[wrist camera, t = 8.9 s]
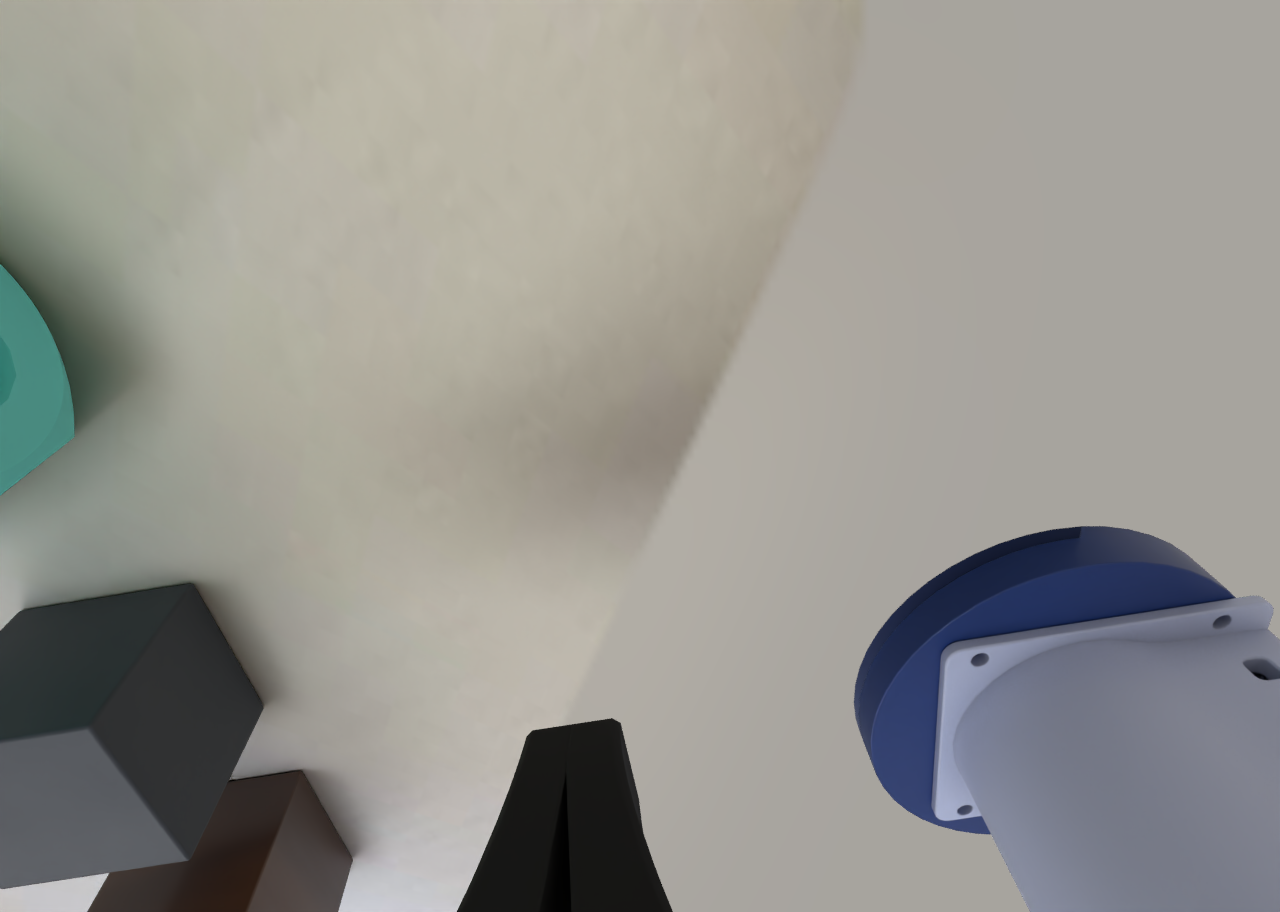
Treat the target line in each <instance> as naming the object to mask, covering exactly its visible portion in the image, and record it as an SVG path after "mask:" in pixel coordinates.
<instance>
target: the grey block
mask: <svg viewBox="0 0 1280 912" xmlns="http://www.w3.org/2000/svg"><path fill="white" fill-rule="evenodd" d="M262 710H263V704H262V702H261V701H260V699H259V697H258V695H257V694H256V692H255V690H254V688H253V687H252V685H251V683H250V682H249V680H248V678H247V676H246V675H245V673H244V671H243V669H242V668H241V666H240V664H239V662H238V661H237V659H236V657H235V656H234V654H233V652H232V650H231V649H230V647H229V645H228V643H227V642H226V640H225V638H224V636H223V635H222V633H221V631H220V630H219V628H218V626H217V624H216V623H215V621H214V619H213V617H212V616H211V614H210V612H209V610H208V609H207V607H206V605H205V603H204V602H203V600H202V598H201V597H200V595H199V593H198V591H197V590H196V588H195V586H194V585H193V584H184V585H178V586H172V587H166V588H160V589H153V590H147V591H141V592H135V593H129V594H123V595H116V596H110V597H104V598H98V599H92V600H85V601H79V602H73V603H67V604H61V605H54V606H48V607H42V608H36V609H30V610H23V611H20V612H19V613H17V614H16V615H15V616H14V617H13V618H12V619H11V621H10V622H9V623H8V624H7V625H6V626H5V627H4V628H3V629H2V630H1V631H0V889H6V888H13V887H19V886H26V885H32V884H39V883H45V882H52V881H59V880H65V879H72V878H78V877H85V876H91V875H98V874H104V873H111V872H118V871H124V870H131V869H137V868H144V867H150V866H157V865H164V864H170V863H177V862H183V861H188V860H190V859H191V857H192V855H193V853H194V851H195V849H196V847H197V845H198V843H199V841H200V839H201V837H202V835H203V832H204V830H205V828H206V826H207V824H208V822H209V820H210V818H211V816H212V814H213V812H214V810H215V808H216V806H217V803H218V801H219V799H220V797H221V795H222V793H223V791H224V789H225V787H226V785H227V783H228V781H229V779H230V777H231V774H232V772H233V770H234V768H235V766H236V764H237V762H238V760H239V758H240V756H241V754H242V752H243V750H244V748H245V746H246V743H247V741H248V739H249V737H250V735H251V733H252V731H253V729H254V727H255V725H256V723H257V721H258V719H259V717H260V714H261V712H262Z"/></svg>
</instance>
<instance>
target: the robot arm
mask: <svg viewBox="0 0 1280 912" xmlns="http://www.w3.org/2000/svg"><path fill="white" fill-rule="evenodd" d="M1273 609H1274V608H1273V607H1272V605H1271V604H1270V603H1269V602H1268V601H1266V600H1265V599H1264V598H1263V597H1260V596H1247V597H1240V598H1234V599H1227V600H1221V601H1215V602H1208V603H1202V604H1195V605H1189V606H1182V607H1176V608H1170V609H1163V610H1157V611H1150V612H1144V613H1137V614H1131V615H1125V616H1118V617H1112V618H1105V619H1099V620H1093V621H1086V622H1080V623H1073V624H1067V625H1060V626H1054V627H1048V628H1041V629H1035V630H1028V631H1022V632H1015V633H1009V634H1003V635H996V636H990V637H983V638H977V639H971V640H964V641H958V642H954V643H952V644H950V645H948V646H947V647H946V648H945V649H944V650H943V652H942V655H941V662H940V678H939V694H938V709H937V725H936V741H935V757H934V772H933V788H932V804H931V806H932V809H933V811H934V814H935V816H936V817H937V818H938V819H940V820H944V821H950V820H957V819H964V818H970V817H977V816H982V817H983V819H984V821H985V823H986V825H987V827H988V829H989V831H990V833H991V835H992V837H993V839H994V841H995V843H996V845H997V847H998V849H999V851H1000V853H1001V855H1002V857H1003V859H1004V861H1005V863H1006V865H1007V867H1008V869H1009V871H1010V873H1011V875H1012V877H1013V879H1014V881H1015V883H1016V885H1017V887H1018V889H1019V891H1020V893H1021V895H1022V897H1023V899H1024V901H1025V903H1026V905H1027V907H1028V909H1029V911H1030V912H1280V640H1279V639H1278V638H1277V637H1276V636H1275V635H1274V634H1273V633H1272V632H1270V631H1269V630H1267V629H1268V626H1269V624H1270V621H1271V618H1272V615H1273ZM977 654H979V655H977ZM975 655H977V656H975ZM457 912H673V911H672V909H671V906H670V904H669V901H668V899H667V896H666V894H665V892H664V889H663V887H662V884H661V882H660V879H659V877H658V874H657V871H656V868H655V866H654V863H653V860H652V857H651V854H650V852H649V849H648V846H647V843H646V840H645V837H644V834H643V828H642V822H641V813H640V806H639V798H638V794H637V790H636V786H635V782H634V778H633V773H632V769H631V765H630V761H629V756H628V752H627V748H626V744H625V740H624V736H623V731H622V727H621V723H620V722H618V721H616V720H614V719H612V718H611V719H605V720H599V721H592V722H585V723H579V724H572V725H566V726H559V727H552V728H546V729H539V730H533V731H532V732H531V733H530V734H529V735H528V736H527V738H526V741H525V744H524V747H523V751H522V754H521V757H520V760H519V763H518V766H517V769H516V772H515V775H514V778H513V780H512V783H511V786H510V789H509V791H508V794H507V797H506V799H505V802H504V804H503V807H502V810H501V812H500V815H499V817H498V820H497V822H496V825H495V827H494V830H493V832H492V834H491V837H490V839H489V841H488V844H487V846H486V848H485V851H484V853H483V856H482V858H481V860H480V863H479V865H478V867H477V870H476V872H475V874H474V876H473V879H472V881H471V883H470V885H469V888H468V890H467V892H466V894H465V896H464V898H463V900H462V902H461V904H460V906H459V908H458V910H457Z"/></svg>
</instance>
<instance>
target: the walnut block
mask: <svg viewBox="0 0 1280 912" xmlns="http://www.w3.org/2000/svg"><path fill="white" fill-rule="evenodd" d="M352 861H353V860H352V858H351V856H350V854H349V852H348V851H347V849H346V847H345V845H344V844H343V842H342V840H341V838H340V837H339V835H338V833H337V832H336V830H335V828H334V826H333V825H332V823H331V821H330V819H329V818H328V816H327V814H326V812H325V811H324V809H323V807H322V805H321V804H320V802H319V800H318V799H317V797H316V795H315V793H314V792H313V790H312V788H311V786H310V785H309V783H308V781H307V779H306V778H305V776H304V774H303V772H302V771H297V772H290V773H284V774H277V775H271V776H264V777H258V778H251V779H245V780H238V781H232V782H228V783H227V785H226V787H225V789H224V791H223V793H222V795H221V797H220V799H219V801H218V803H217V806H216V808H215V810H214V812H213V814H212V816H211V818H210V820H209V822H208V824H207V826H206V828H205V830H204V832H203V835H202V837H201V839H200V841H199V843H198V845H197V847H196V849H195V851H194V853H193V855H192V857H191V859H190V860H188V861H183V862H177V863H170V864H164V865H157V866H150V867H144V868H137V869H131V870H124V871H118V872H111V873H109V875H108V876H107V878H106V880H105V882H104V883H103V885H102V887H101V889H100V890H99V892H98V894H97V896H96V897H95V899H94V901H93V903H92V904H91V906H90V908H89V910H88V911H87V912H338V910H339V907H340V903H341V900H342V896H343V893H344V889H345V886H346V882H347V879H348V875H349V872H350V868H351V865H352Z"/></svg>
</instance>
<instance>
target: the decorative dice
mask: <svg viewBox="0 0 1280 912" xmlns="http://www.w3.org/2000/svg"><path fill="white" fill-rule="evenodd" d="M74 437H75V434H74V410H73V403H72V397H71V390H70V385H69V381H68V378H67V374H66V371H65V367H64V364H63V361H62V358H61V356H60V353H59V351H58V349H57V346H56V344H55V341H54V339H53V337H52V335H51V333H50V331H49V329H48V327H47V325H46V323H45V322H44V320H43V318H42V316H41V315H40V313H39V311H38V310H37V308H36V307H35V305H34V304H33V302H32V301H31V300H30V298H29V297H28V296H27V294H26V293H25V291H24V290H23V289H22V288H21V287H20V285H19V284H18V283H17V282H16V281H15V279H14V278H13V277H12V276H11V275H10V274H9V273H8V272H7V270H6V269H5V268H4V267H3V266H2V265H1V264H0V495H2V494H3V493H4V492H5V491H7V490H8V489H9V488H11V487H12V486H13V485H14V484H16V483H17V482H18V481H19V480H21V479H22V478H23V477H25V476H26V475H27V474H28V473H30V472H31V471H32V470H33V469H35V468H36V467H37V466H38V465H40V464H41V463H42V462H44V461H45V460H46V459H47V458H49V457H50V456H51V455H52V454H54V453H55V452H56V451H57V450H59V449H60V448H61V447H63V446H64V445H65V444H66V443H68V442H69V441H70V440H71V439H73V438H74Z"/></svg>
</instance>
